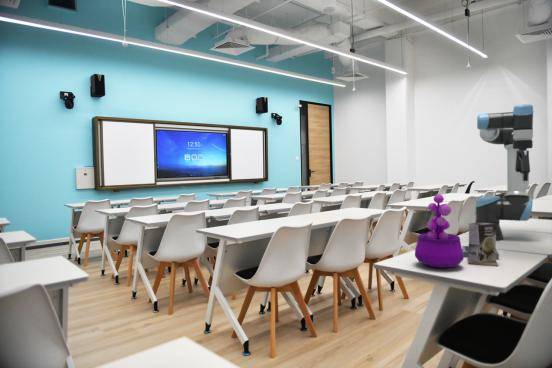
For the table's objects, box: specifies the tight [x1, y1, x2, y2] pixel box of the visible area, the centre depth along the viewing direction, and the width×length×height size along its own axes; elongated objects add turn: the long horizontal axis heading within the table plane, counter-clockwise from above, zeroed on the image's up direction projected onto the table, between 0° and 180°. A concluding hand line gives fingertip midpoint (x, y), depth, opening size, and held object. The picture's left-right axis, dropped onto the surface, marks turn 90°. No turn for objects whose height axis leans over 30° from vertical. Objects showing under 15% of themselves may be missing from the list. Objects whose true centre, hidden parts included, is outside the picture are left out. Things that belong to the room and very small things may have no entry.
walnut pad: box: [466, 257, 499, 267], centre depth 170 cm, size 11×11×1 cm
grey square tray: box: [461, 245, 500, 261], centre depth 183 cm, size 14×14×3 cm
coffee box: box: [468, 222, 497, 263], centre depth 170 cm, size 9×6×16 cm
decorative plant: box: [414, 193, 465, 269], centre depth 165 cm, size 19×18×30 cm
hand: (521, 187), depth 179 cm, fingers open, 13 cm apart
